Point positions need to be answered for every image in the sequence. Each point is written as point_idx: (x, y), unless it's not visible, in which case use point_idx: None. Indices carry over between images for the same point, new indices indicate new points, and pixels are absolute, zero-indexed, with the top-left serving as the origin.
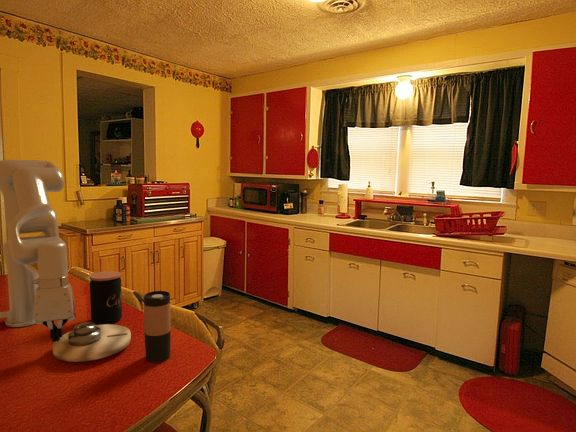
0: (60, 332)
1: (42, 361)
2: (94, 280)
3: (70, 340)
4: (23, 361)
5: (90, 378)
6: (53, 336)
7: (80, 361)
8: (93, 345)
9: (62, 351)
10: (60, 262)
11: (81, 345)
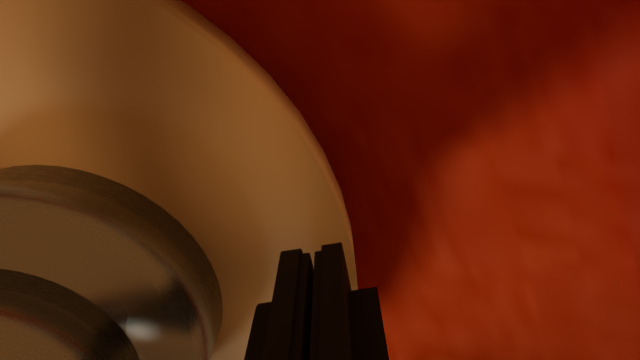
0: (256, 346)
1: (398, 102)
2: None
3: (130, 231)
4: (554, 123)
5: None
6: (328, 283)
7: None
8: None
9: (157, 52)
10: None
11: (16, 168)
